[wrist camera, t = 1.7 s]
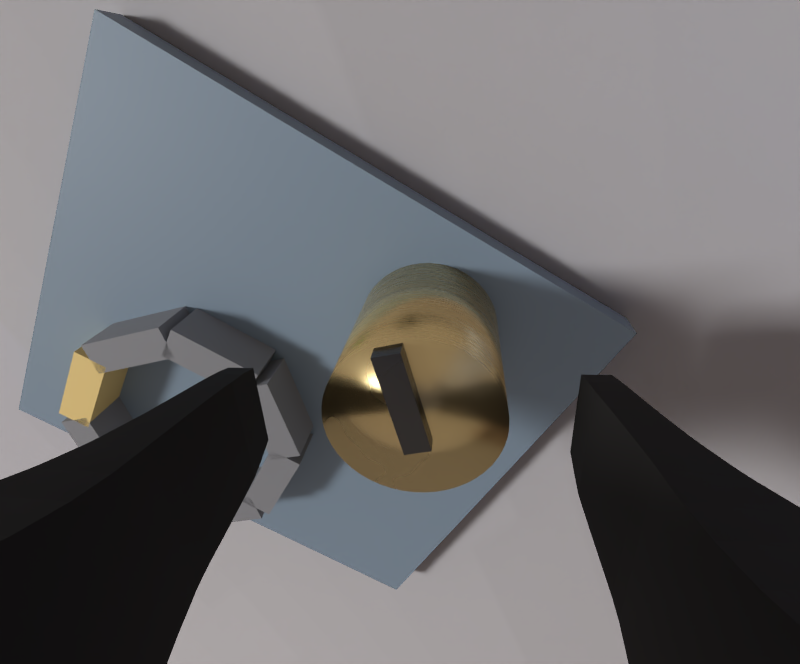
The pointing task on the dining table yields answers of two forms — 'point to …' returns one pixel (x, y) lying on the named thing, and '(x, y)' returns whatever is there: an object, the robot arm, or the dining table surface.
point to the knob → (420, 383)
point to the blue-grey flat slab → (267, 291)
